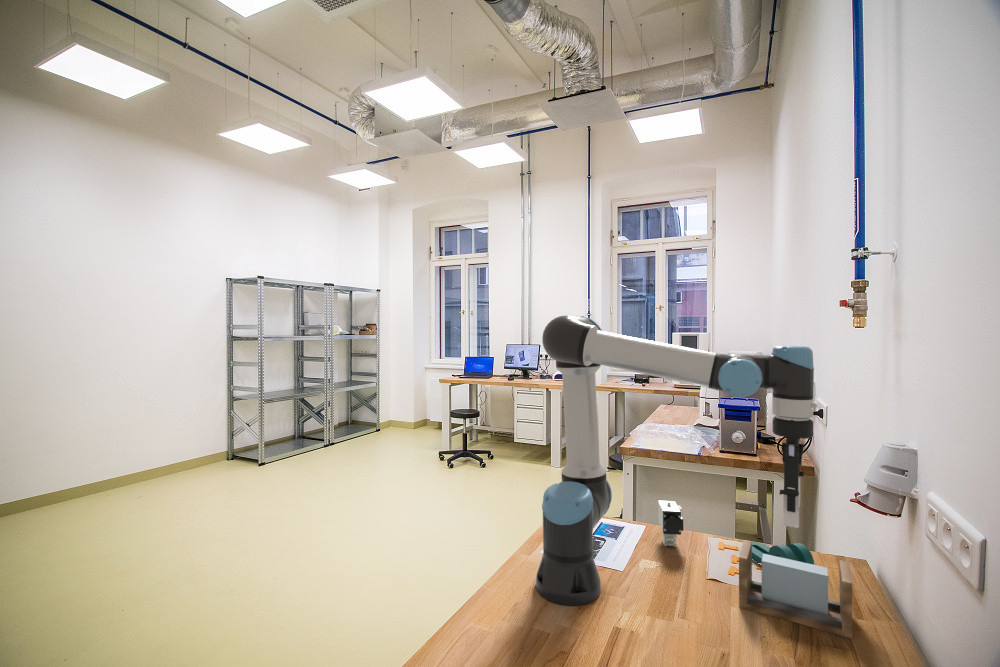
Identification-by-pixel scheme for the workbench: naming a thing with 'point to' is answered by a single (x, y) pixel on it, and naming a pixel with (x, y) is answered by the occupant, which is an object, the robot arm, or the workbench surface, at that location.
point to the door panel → (795, 583)
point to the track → (833, 622)
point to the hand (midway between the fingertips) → (792, 515)
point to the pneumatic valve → (669, 521)
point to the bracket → (782, 552)
